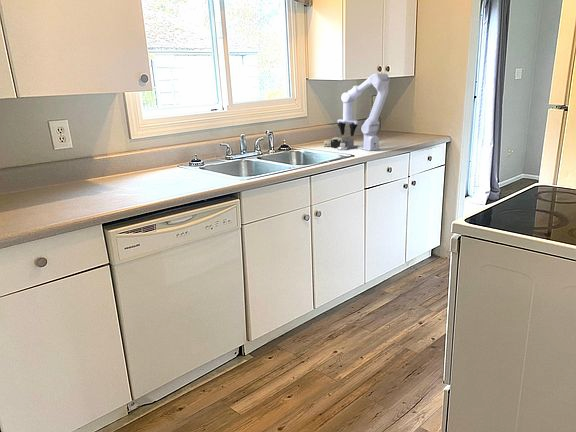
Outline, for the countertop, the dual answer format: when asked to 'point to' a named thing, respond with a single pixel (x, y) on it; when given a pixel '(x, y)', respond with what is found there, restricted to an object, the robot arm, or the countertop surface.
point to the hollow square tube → (348, 141)
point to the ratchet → (346, 147)
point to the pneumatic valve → (333, 142)
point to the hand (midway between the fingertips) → (347, 135)
